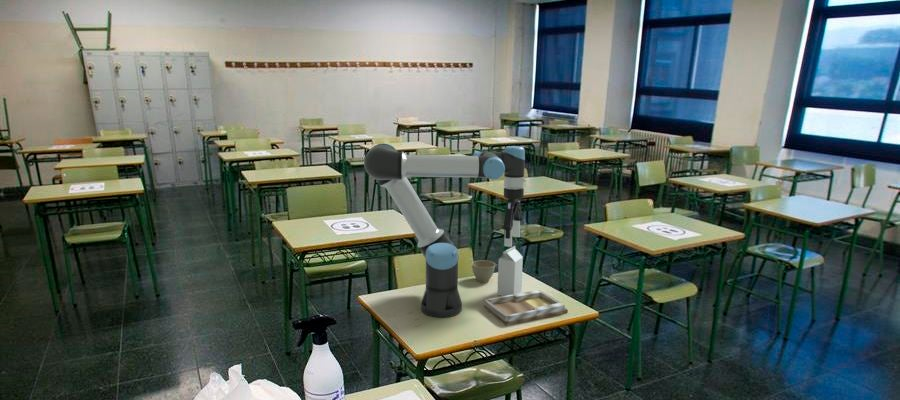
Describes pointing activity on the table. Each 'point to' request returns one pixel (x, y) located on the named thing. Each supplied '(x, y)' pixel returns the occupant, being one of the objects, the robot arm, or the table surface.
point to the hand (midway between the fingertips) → (512, 241)
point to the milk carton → (510, 272)
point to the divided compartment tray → (524, 307)
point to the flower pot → (483, 270)
